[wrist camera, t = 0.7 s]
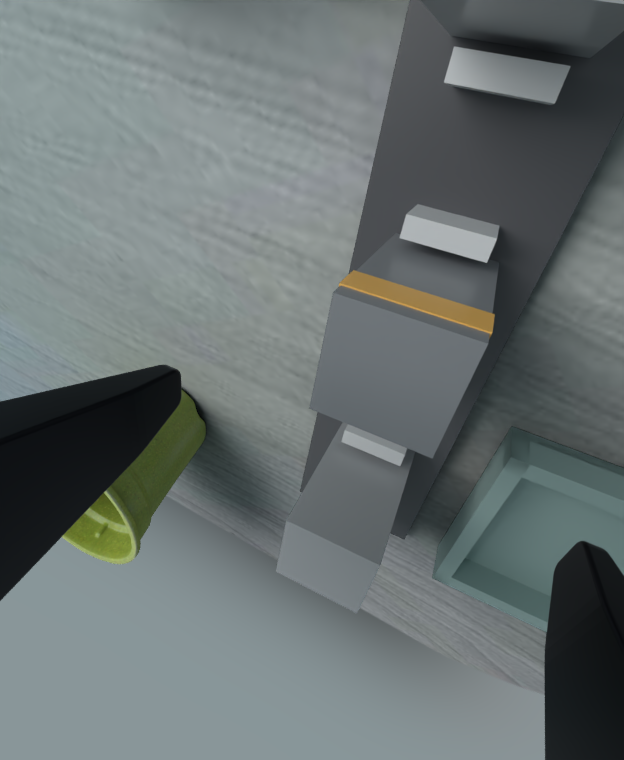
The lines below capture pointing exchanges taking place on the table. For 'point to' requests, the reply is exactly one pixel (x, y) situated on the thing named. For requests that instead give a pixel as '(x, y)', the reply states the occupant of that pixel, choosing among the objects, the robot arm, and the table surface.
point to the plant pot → (139, 490)
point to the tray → (530, 524)
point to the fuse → (405, 342)
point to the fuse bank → (460, 227)
